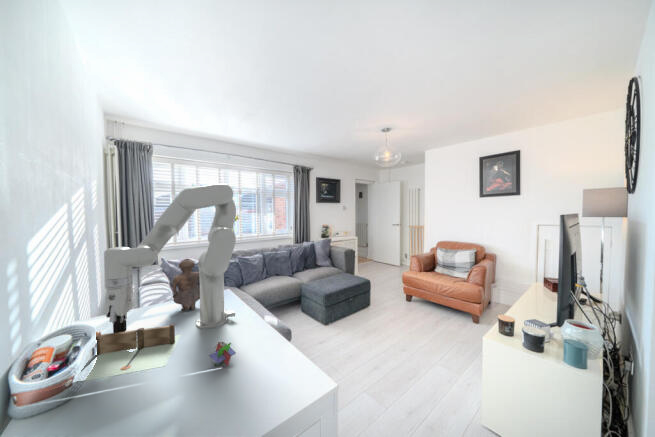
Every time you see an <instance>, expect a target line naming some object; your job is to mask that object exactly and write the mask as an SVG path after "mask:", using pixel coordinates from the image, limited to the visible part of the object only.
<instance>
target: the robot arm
mask: <svg viewBox="0 0 655 437" xmlns="http://www.w3.org/2000/svg"><path fill="white" fill-rule="evenodd" d="M233 198H234V190H233V188H232V187H231V186H230V185H229V184H227V183H222V182H221V183H214V184H207V185H201V186H200V185H199V186H195V187H193V186H192V187H187V188H184V189H182V190H181V191H180V192H179V193H178V194H177V196H176V197H175V198H174V199H173V200H172V202H171V203H170V204H169V206H167V208H166V209H165V210H164V211H163V212H162V214H161V215H160V216H159V218H158V219H157V220H156V222H155V224H154V225H153V226H152V227H151V229H150V230H149V232H148V233H147V234H146V236H145V237H144V238H143V239H142V241H141V242H140V243H139V244H138V245H137V247H131V248H130V247H128V246H115V247H110V248H107V249H105V250H104V253H103V260H104V261H103V262H104V264H103V268H104V270H103V271H104V289H105V292H106V293H105V299H104V300H105V302H104V312H105V317H106V318H107V319H108V318H109V323H112V329H113V331H112V333H117V332H125V331H127V318H128V317H127V316H128V313H129V312H130V311H131V310H132V309H133V308H134V306H135V297H134V288H133V281H134V279H133V267H134V268H135V267H136V268H144V267H149V266H152V265H153V264H155V263H156V261H157V259H158V255H159V254H160V252H161V251H162V250H163V248H164V247H165V245H166V244H167V243H168V242H169V241H170V240H171V239H172V237H174V236H175V235H176V234H178V233H179V232H180V231H181V230H182V229H183V227H184V226H185V225H186V223H188V221H189V219H190V218H191V216H193V214H194V213H195V212H196V210H199V209H205V208H209V207H215V211H214V216H213V220H212V222H211V223H212V224H211V227H210V229H209V232H208V234H207V240H208V243H209V244H208V248H207V250H205V251H203V252H202V253H201V254H200V256H199V258H198V264H197V265H198V272H199V281H200V299H199V318H198V319H197V320H196V322H195V327H197V328H198V329H204V330H206V329H207V330H208V329H214V328H218V327H220V326H223V325H224V324H226V323H228V321H229V317H230V318H232V317H236V312H235V311H233V310H228V311H227V310H226V307H225V275H224V273H225V272H226V271H227V270H228V268H229V266H230V262H231V259H232V256H233V252H234V249H235V247H236V246H235V245H236V240H237V239H236V238H237V236H236V234H235V232H234V230H233V228H234V225H235V221H236V216H237V206H236V204H235V203H236V202H235V200H234V199H233Z"/></svg>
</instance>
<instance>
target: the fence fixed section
mask: <svg viewBox="0 0 655 437" xmlns="http://www.w3.org/2000/svg"><path fill="white" fill-rule="evenodd" d="M175 326H176V325H175V323H172V324H169V325H164V326H163V325H162V326H157V327H148V328H145V327H140V328H139V327H138V328H137V329H136V330H137V349H138V350H140V349H143V348H144V347H149V346H156V345H162V344H168V343H170V344H174V343H175V335H176V332H175V331H176V327H175Z"/></svg>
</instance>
